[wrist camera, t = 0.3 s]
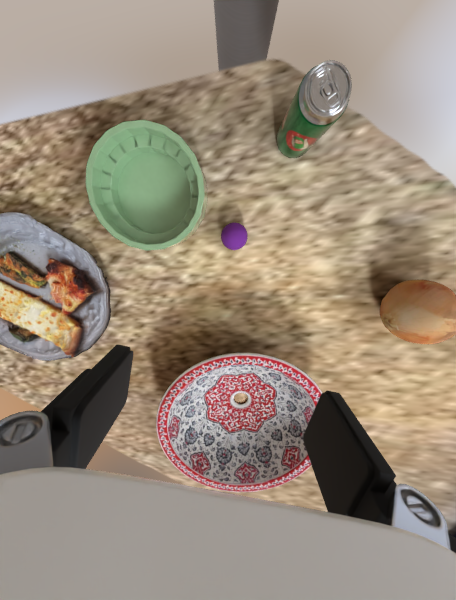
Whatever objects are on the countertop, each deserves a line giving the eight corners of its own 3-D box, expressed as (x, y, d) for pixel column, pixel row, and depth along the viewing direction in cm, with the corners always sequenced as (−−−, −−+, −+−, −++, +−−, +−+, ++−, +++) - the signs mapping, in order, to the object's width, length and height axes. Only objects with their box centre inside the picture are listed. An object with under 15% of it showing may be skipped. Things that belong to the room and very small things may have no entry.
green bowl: (110, 122, 32) (89, 104, 27) (217, 152, 33) (215, 139, 28) (101, 234, 37) (82, 234, 32) (196, 257, 38) (191, 261, 33)
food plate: (138, 277, 39) (129, 282, 35) (82, 374, 44) (70, 385, 41) (-8, 186, 35) (-33, 181, 31) (-48, 305, 40) (-73, 312, 37)
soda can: (298, 109, 31) (338, 39, 20) (318, 142, 33) (366, 94, 21) (269, 135, 32) (290, 83, 21) (288, 167, 34) (319, 134, 22)
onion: (357, 294, 39) (398, 314, 30) (413, 262, 37) (476, 274, 28) (378, 337, 41) (423, 369, 32) (432, 309, 40) (496, 334, 30)
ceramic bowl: (329, 431, 48) (347, 469, 40) (202, 466, 51) (197, 507, 43) (290, 309, 40) (304, 328, 32) (143, 360, 43) (124, 388, 36)
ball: (224, 220, 36) (224, 219, 32) (249, 226, 36) (251, 226, 32) (219, 245, 37) (217, 247, 33) (242, 251, 37) (244, 253, 33)
